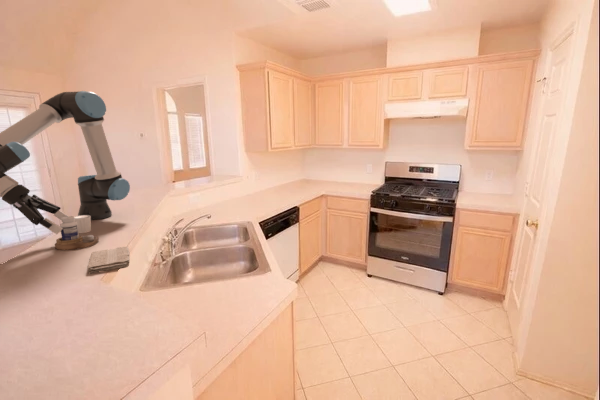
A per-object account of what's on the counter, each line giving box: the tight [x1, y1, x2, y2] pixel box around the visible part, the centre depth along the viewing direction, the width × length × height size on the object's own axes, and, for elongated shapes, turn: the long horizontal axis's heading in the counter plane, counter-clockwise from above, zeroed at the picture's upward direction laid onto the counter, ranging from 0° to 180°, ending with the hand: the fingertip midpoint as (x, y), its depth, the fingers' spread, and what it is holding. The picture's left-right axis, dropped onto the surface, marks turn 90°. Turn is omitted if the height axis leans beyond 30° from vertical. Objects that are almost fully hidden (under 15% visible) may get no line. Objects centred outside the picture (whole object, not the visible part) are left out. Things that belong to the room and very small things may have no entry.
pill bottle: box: [59, 215, 80, 241], centre depth 114 cm, size 5×5×10 cm
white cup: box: [73, 215, 92, 234], centre depth 131 cm, size 7×7×7 cm
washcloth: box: [86, 246, 131, 274], centre depth 100 cm, size 12×18×3 cm, turn 33°
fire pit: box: [54, 234, 99, 251], centre depth 115 cm, size 14×14×3 cm
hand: (66, 226), depth 114 cm, fingers open, 13 cm apart
